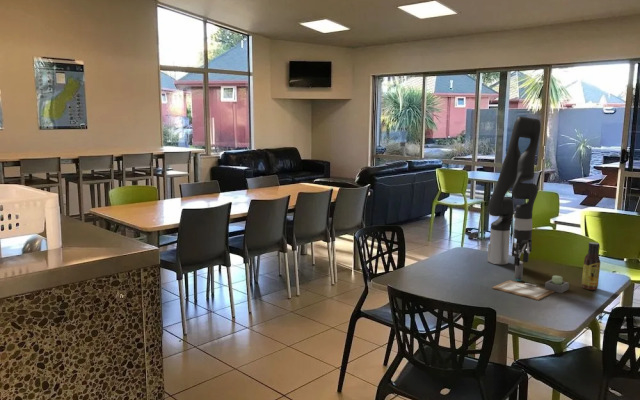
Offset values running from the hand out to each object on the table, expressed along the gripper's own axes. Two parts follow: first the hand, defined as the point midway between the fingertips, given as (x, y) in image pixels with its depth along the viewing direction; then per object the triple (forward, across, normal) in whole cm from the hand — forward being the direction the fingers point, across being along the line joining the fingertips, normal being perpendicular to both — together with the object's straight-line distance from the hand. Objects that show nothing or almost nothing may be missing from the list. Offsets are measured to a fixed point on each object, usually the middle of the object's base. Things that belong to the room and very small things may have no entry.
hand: (521, 263), depth 231 cm
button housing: (+8, 0, +16) cm, 18 cm away
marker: (+8, 0, -1) cm, 8 cm away
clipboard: (+8, +12, +7) cm, 16 cm away
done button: (+6, +1, +16) cm, 17 cm away
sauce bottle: (+8, -11, +25) cm, 29 cm away
